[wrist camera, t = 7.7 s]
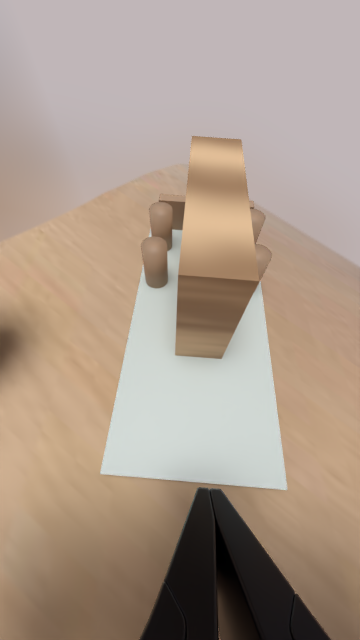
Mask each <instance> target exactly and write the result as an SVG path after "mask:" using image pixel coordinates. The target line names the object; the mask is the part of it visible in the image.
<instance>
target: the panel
mask: <svg viewBox="0 0 360 640" xmlns="http://www.w3.org/2000/svg"><path fill="white" fill-rule="evenodd" d="M185 201H186V196H181V195H168V194H160V197H159V202H157V203H154V204H152V205H151V206H150V208H149V213H150V224H151V229H150V234H149V237H148V238H146V239H145V240H143V242H142V243H141V250H142V257H143V268H142V273H141V278H140V283H139V288H138V292H137V297H136V302H135V307H134V312H133V317H132V322H131V326H130V331H129V336H128V341H127V346H126V351H125V356H124V360H123V365H122V370H121V375H120V380H119V385H118V389H117V394H116V399H115V404H114V409H113V414H112V419H111V423H110V428H109V433H108V438H107V443H106V448H105V453H104V457H103V462H102V467H101V472H100V474H107V475H118V476H130V477H141V478H153V479H165V480H176V481H188V482H200V483H211V484H223V485H235V486H246V487H258V488H270V489H281V490H287V482H286V474H285V467H284V459H283V451H282V444H281V436H280V428H279V420H278V413H277V405H276V397H275V390H274V382H273V374H272V366H271V359H270V351H269V343H268V335H267V328H266V320H265V312H264V305H263V297H262V289H261V281H260V280H261V278H262V276H263V274H264V272H265V270H266V268H267V266H268V264H269V262H270V260H271V258H272V253H271V251H270V250H269V249H268V248H267V247H265V246H263V245H259V244H256V241H257V239H258V236H259V234H260V231H261V228H262V226H263V223H264V221H265V215H264V214H263V213H262V212H261V211H259V210H256V209H254V203H253V201H249V204H250V212H251V220H252V228H253V236H254V244H255V251H256V259H257V267H258V275H259V283H258V285H257V287H256V289H255V291H254V293H253V295H252V297H251V299H250V301H249V303H248V305H247V307H246V309H245V311H244V314H243V316H242V318H241V320H240V322H239V324H238V326H237V328H236V330H235V332H234V334H233V336H232V338H231V340H230V342H229V344H228V347H227V349H226V351H225V353H224V355H223V357H222V359H214V358H201V357H189V356H176V355H175V343H176V316H177V290H178V271H179V261H180V251H181V241H182V231H183V221H184V211H185Z"/></svg>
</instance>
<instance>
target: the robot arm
mask: <svg viewBox="0 0 360 640" xmlns="http://www.w3.org/2000/svg"><path fill="white" fill-rule="evenodd" d="M218 625H219V631H220V638H221V640H331V639H330V637H329V636H328V635H327V633H326V632H325V631H324V629H323V628H322V627H321V625H320V624H319V623H318V621H317V620H316V619H315V618H314V616H313V615H312V614H311V612H310V611H309V610H308V608H307V607H306V605H305V604H304V603H303V601H302V600H301V599H300V597H299V596H298V594H295V591H294V590H293V588H292V587H291V585H290V584H289V583H288V581H287V580H286V579H285V577H284V576H283V574H282V573H281V572H280V570H279V569H278V567H277V566H276V565H275V563H274V562H273V561H272V559H271V558H270V556H269V555H268V554H267V552H266V551H265V549H264V548H263V547H262V545H261V544H260V543H259V541H258V540H257V538H256V537H255V536H254V534H253V533H252V532H251V530H250V529H249V527H248V526H247V525H246V523H245V522H244V520H243V519H242V518H241V516H240V515H239V514H238V512H237V511H236V509H235V508H234V507H233V505H232V504H231V503H230V501H229V500H228V498H227V497H226V496H225V494H224V493H223V491H222V490H221V489H214V488H211V489H210V490H209V489H208V488H201V487H199V488H197V491H196V494H195V496H194V499H193V502H192V505H191V507H190V510H189V513H188V515H187V518H186V521H185V524H184V526H183V529H182V532H181V535H180V537H179V540H178V543H177V546H176V548H175V551H174V554H173V557H172V559H171V562H170V565H169V568H168V570H167V573H166V576H165V579H164V582H163V583H162V586H161V589H160V591H159V594H158V597H157V599H156V602H155V604H154V607H153V609H152V612H151V614H150V617H149V619H148V622H147V624H146V626H145V628H144V630H143V633H142V635H141V637H140V639H139V640H219V638H218Z"/></svg>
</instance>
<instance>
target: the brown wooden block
mask: <svg viewBox="0 0 360 640" xmlns="http://www.w3.org/2000/svg"><path fill="white" fill-rule="evenodd" d="M258 283H259V275H258V267H257V259H256V251H255V244H254V236H253V228H252V220H251V212H250V204H249V196H248V189H247V181H246V173H245V166H244V158H243V150H242V142H241V140H240V139H226V138H212V137H198V136H192V141H191V151H190V161H189V171H188V181H187V191H186V201H185V211H184V221H183V231H182V241H181V251H180V261H179V271H178V290H177V316H176V343H175V355H176V356H189V357H201V358H214V359H222V357H223V355H224V353H225V351H226V349H227V347H228V344H229V342H230V340H231V338H232V336H233V334H234V332H235V330H236V328H237V326H238V324H239V322H240V320H241V318H242V316H243V314H244V311H245V309H246V307H247V305H248V303H249V301H250V299H251V297H252V295H253V293H254V291H255V289H256V287H257V285H258Z"/></svg>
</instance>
